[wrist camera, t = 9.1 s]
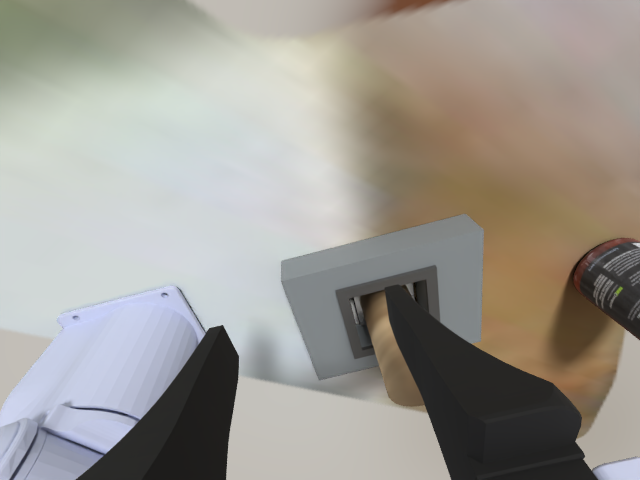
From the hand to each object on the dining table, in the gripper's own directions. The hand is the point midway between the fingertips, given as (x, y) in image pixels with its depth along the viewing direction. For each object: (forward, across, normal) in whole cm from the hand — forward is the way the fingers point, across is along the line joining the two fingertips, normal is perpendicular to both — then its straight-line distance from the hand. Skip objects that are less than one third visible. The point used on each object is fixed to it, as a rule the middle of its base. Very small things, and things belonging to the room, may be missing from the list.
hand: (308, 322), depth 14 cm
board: (+10, -5, +8) cm, 14 cm away
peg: (+9, -5, +8) cm, 13 cm away
